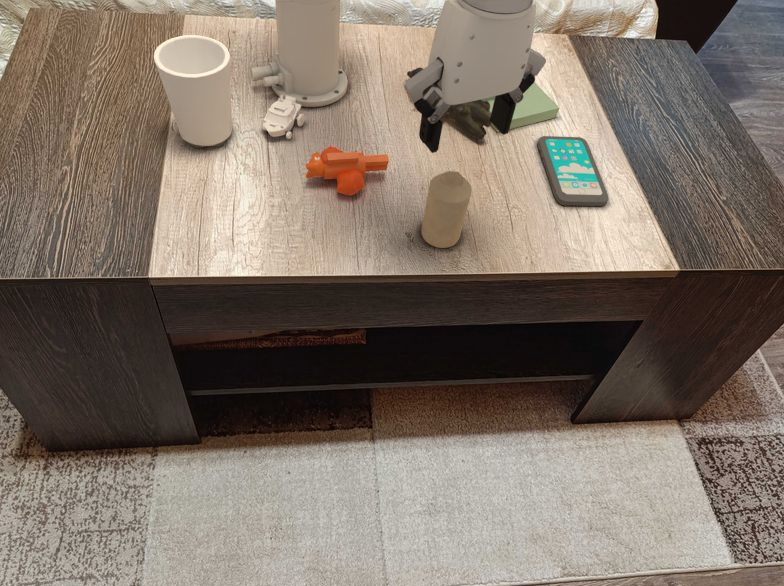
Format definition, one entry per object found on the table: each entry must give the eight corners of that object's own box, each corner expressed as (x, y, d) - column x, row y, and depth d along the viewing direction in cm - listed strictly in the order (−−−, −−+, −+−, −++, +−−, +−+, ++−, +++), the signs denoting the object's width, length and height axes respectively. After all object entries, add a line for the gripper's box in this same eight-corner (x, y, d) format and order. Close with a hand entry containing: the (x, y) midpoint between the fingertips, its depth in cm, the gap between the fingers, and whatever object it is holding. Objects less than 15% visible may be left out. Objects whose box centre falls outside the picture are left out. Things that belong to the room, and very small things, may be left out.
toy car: (308, 118, 98) (307, 95, 94) (285, 147, 93) (284, 124, 90) (280, 109, 98) (278, 86, 95) (256, 138, 94) (254, 114, 90)
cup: (198, 165, 89) (181, 85, 79) (159, 130, 93) (138, 49, 82) (253, 138, 94) (245, 59, 83) (214, 106, 97) (201, 26, 87)
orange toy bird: (386, 136, 88) (302, 140, 86) (395, 182, 87) (310, 189, 84) (381, 155, 93) (302, 160, 91) (390, 200, 91) (309, 206, 89)
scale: (492, 133, 100) (497, 115, 98) (457, 93, 106) (461, 74, 103) (556, 117, 105) (562, 99, 102) (519, 79, 110) (525, 60, 107)
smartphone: (558, 200, 91) (536, 134, 100) (556, 205, 92) (534, 140, 100) (612, 201, 93) (586, 136, 101) (609, 206, 94) (584, 141, 102)
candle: (456, 252, 85) (470, 197, 77) (417, 243, 85) (427, 188, 77) (462, 224, 88) (476, 169, 80) (424, 216, 88) (435, 160, 80)
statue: (467, 139, 95) (387, 77, 103) (482, 150, 99) (404, 91, 108) (493, 103, 93) (409, 43, 101) (506, 116, 97) (425, 58, 106)
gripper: (547, -45, 63) (507, 103, 77) (398, -23, 58) (384, 133, 72) (591, -10, 60) (541, 139, 74) (437, 18, 54) (414, 173, 68)
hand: (464, 136), depth 73 cm, fingers open, 9 cm apart
